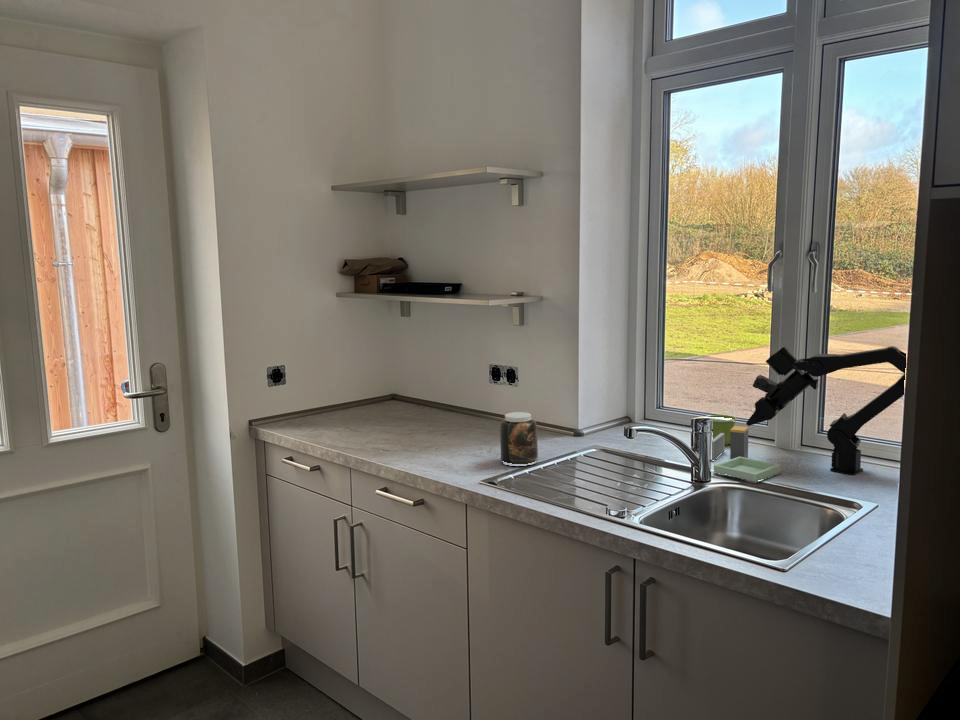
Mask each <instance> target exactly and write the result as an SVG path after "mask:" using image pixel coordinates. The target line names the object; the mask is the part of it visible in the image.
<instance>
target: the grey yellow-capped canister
mask: <svg viewBox="0 0 960 720" xmlns="http://www.w3.org/2000/svg"><path fill="white" fill-rule="evenodd" d="M729 449H730V453H729V460H730V459H734V458H736V457H739V456H740V457H745V458H749V426H739V425H734V427H733V428H732V429H730V448H729Z"/></svg>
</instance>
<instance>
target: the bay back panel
mask: <svg viewBox="0 0 960 720" xmlns="http://www.w3.org/2000/svg"><path fill="white" fill-rule="evenodd" d="M725 448H726V446H725V433H720V434H719V435H718V436H716V437H715V438H714V439H713V440H712V460H715V459H716V458H717V457H718V456H719V455H720V454H721V453H723V452H724V451H725V450H726V449H725ZM725 452H726V451H725ZM725 452H724V453H725ZM724 453H723V454H724ZM718 458H719V457H718ZM718 458H717V459H718ZM717 459H716V460H717ZM716 460H715V461H716Z"/></svg>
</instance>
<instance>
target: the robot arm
mask: <svg viewBox="0 0 960 720" xmlns="http://www.w3.org/2000/svg"><path fill="white" fill-rule="evenodd" d="M906 354H907V353H906V352H904V351H902V350H901V349H899V348H898V347H897V346H894V345H892V346H887V347H883V348H877V349H870V350H865V351H858V352H850V353H844V354H838V353H837V354H836V353H835V354H833V353H816V354H813V355H812V356H811V357H808V358H807V357H806V358H798V359H797V358H796V357H795V356H794V355H793V354H792V353H791V352H790V351H789V349H788V347H786V346H783V347H781V348H780V349H779V350H778V351H776V352H775V353H774V354H773V353H772V354H771V356H769V358H767V359H766V360H765V363H766V364H767V365H768V366H769V367H770V368H771V369H772V370H773V371H774V372H775V373H776V374H777V375H778V376H784V377H786V376H787V375H788V374H789V373H791V371H793V370H794V371H793V372H792V373H791V374H790V375H788V376H787V377H786V378H785V379H784V380H782V381H780V382H776V381H774V380H772V379H770V378H768V377H766V376H764V375H761V374H759V375H758V376H756V378H755V380H754V381H753V384H752V385H751V386H752V387H753V388H754V389H758V390H760V391H762V392H764V393H765V395H764V396H762V397H760V398H759V399H758V400H757V401H756V402H755V403H754V408H755V409H754V412H753V413H752V414H751V415H750V417H749V418H748V420H747V421H746V422H745V424H746V425H747V427H749V426H753V425H756V424H759V423H762V422H766V421H769V420H772V419H774V417H775V416H777V415H778V414H779V412H780V411H781V410H783V409H785V408H786V407H787V406H788V405H789V403H790V402H792V401H793V400H794V399H796V397H798V396H799V395H800V394H801V393H803V392H804V391H805V390H806V389H807V388H808V387H811V388H812V389H813V390H817V389H818V388H819V381H820V379H819V378H815V377H821V376H825V375H828V374H831V373H834V372H836V371H840V370H843V369H850V368H857V367H863V366H870V365H877V364H883V363H885V364H886V363H889V364H891V365H892V366H893V367H894V368H896V369H898V370H899V371H900V372H901V373H903V374H902V375H901V376H900V377H899V378H898V380H897V381H896V382H894V384H892V385H891V386H889V387H888V388H886V389H885V390H883V392H882V393H879V395H877V396H876V397H874V398H873V399H872V400H870V401H869V402H868V403H867V404H865V405H863V407H860V409H858V410H857V411H856V412H855V413H852V414H850V415H847V414H846V413H845V412H843V413H842V415H841V416H840V417H839V418H837V419H834V420H833V421H832V422H831V423H830V424H829V429H828V431H827V432H826V438H827V440H828V442H830V444H832V446H833V452H832V453H831V464H830V465H831V467H830V469H829V470H830V471H831V472H837V473H842V474H846V475H852V476H854V475H856V474H858V473H860V472H863V471H864V468H862V466H861V465H862V463H861V461H862V459H861V458H862V450H861V449H859V448H858V447H859V446H860V443H861V442H862V440H861V438H859V437H858V436H857V435H856V434H857V433H858V432H859V430H860V429H861V428H862V427H863V426H864V425H865V424H867V423H869V422H870V421H871V420H872V419H874V418H875V417H876V416H879V414H880V413H882V412H883V411H884V410H886V409H887V408H889V407H890V406H892V404H894V403H895V402H897V401H898V400H900V399H901V398H902V397H903V395H904V380H905V368H906ZM904 396H905V395H904Z"/></svg>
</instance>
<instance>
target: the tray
mask: <svg viewBox="0 0 960 720" xmlns="http://www.w3.org/2000/svg"><path fill="white" fill-rule="evenodd" d="M714 472H716V473H720V474H727V475H731V476H733V477H737V478H741V479H746V480H747V481H746V483H747V482H748V483H751V484H757V483H756V481H758V480H761V479H765V478H768V477H771V476H773V475H776V476H778V475H780V473H781V474H782V464H778V463H774V462H770V461H763V460H760V459H753V458H749V457H748V458H745V457H740V456H739V457H736V458H734V459H731V460H730V459H729V460H724V461H722V462H719V463H716V464H713V473H714ZM777 474H778V475H777ZM773 477H774V476H773ZM771 478H772V477H771ZM768 479H769V478H768Z"/></svg>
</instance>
